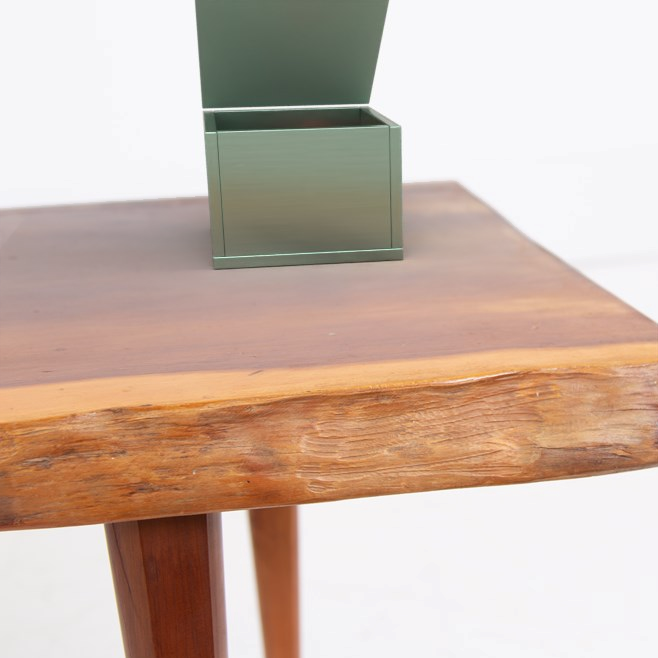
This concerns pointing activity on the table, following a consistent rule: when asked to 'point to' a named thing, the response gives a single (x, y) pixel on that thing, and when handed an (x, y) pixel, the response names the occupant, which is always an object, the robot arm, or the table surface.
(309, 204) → the box
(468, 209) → the table surface
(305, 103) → the lid
